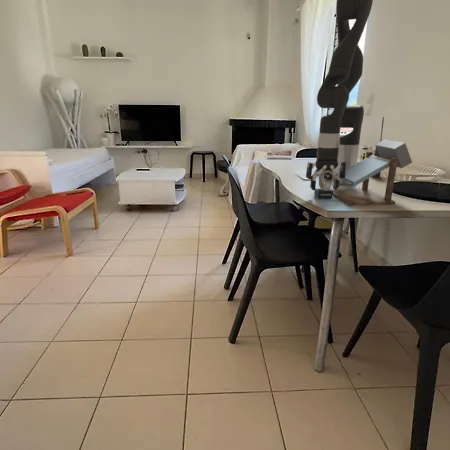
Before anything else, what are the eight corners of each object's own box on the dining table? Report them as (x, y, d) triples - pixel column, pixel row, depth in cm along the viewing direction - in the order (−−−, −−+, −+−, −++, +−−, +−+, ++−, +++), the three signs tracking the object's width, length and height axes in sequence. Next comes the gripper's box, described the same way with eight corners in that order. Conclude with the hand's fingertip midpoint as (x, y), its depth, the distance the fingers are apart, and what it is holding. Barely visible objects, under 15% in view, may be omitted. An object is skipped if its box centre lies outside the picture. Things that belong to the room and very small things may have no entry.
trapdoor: (390, 157, 128) (383, 139, 125) (413, 162, 115) (406, 143, 112) (342, 184, 130) (334, 167, 127) (358, 193, 117) (350, 174, 114)
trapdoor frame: (367, 190, 135) (372, 151, 129) (394, 204, 116) (402, 158, 111) (326, 192, 134) (330, 152, 128) (348, 205, 115) (354, 159, 109)
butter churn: (387, 178, 157) (397, 117, 147) (365, 177, 160) (374, 117, 150) (385, 175, 165) (394, 116, 155) (364, 174, 168) (372, 116, 158)
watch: (319, 200, 122) (322, 171, 118) (312, 195, 129) (315, 167, 126) (334, 200, 122) (337, 170, 118) (326, 194, 130) (329, 167, 126)
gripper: (342, 144, 123) (338, 186, 129) (305, 145, 122) (302, 187, 127) (351, 146, 116) (346, 191, 122) (312, 147, 115) (309, 192, 120)
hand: (324, 189), depth 124 cm, fingers open, 8 cm apart
